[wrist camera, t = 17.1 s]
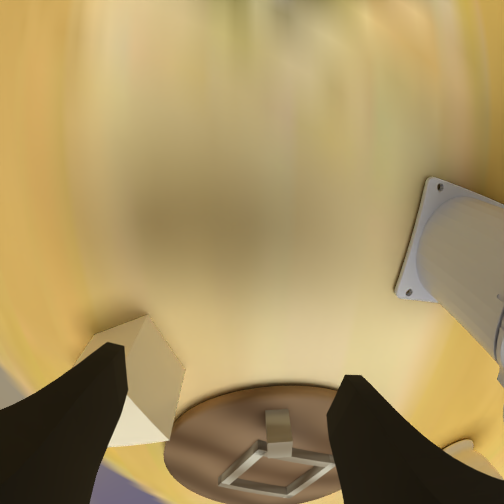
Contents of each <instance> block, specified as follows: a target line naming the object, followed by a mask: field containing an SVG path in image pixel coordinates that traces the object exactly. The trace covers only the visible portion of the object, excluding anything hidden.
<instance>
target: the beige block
mask: <svg viewBox="0 0 504 504" xmlns="http://www.w3.org/2000/svg"><path fill="white" fill-rule="evenodd" d="M106 342H110V343H115V344H119V345H123V346H124V347H125V361H126V372H127V382H128V393H127V396H126V400H125V403H124V407H123V410H122V414H121V416H120V419H119V421H118V423H117V426H116V428H115V430H114V433H113V435H112V437H111V440H110V442H109V444H108V447H118V446H129V445H139V444H148V443H155V442H163V441H169V440H170V436H171V431H172V427H173V422H174V418H175V413H176V409H177V404H178V400H179V396H180V391H181V387H182V383H183V379H184V374H185V368H184V367H183V365H182V364H181V363H180V361H179V360H178V358H177V357H176V355H175V354H174V352H173V351H172V350H171V348H170V347H169V345H168V344H167V342H166V341H165V339H164V338H163V336H162V335H161V333H160V332H159V330H158V329H157V327H156V326H155V324H154V322H153V321H152V319H151V318H150V316H149V315H148V314H147V315H145V316H142V317H139V318H137V319H134V320H132V321H129V322H126V323H124V324H121V325H118V326H116V327H113V328H110V329H108V330H105V331H102V332H100V333H97V334H94V336H93V337H92V339H91V340H90V342H89V343H88V345H87V346H86V347H85V349H84V350H83V352H82V353H81V355H80V356H79V358H78V359H77V361H76V362H75V364H74V366H76V365H77V364H78V363H80V362H81V361H82V360H84V359H85V358H86V357H88V356H89V355H90V354H91V353H93V352H94V351H95V350H97V349H98V348H99V347H101V346H102V345H103V344H105V343H106ZM74 366H73V367H74ZM73 367H72V368H73Z"/></svg>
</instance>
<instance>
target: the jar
mask: <svg viewBox="0 0 504 504" xmlns="http://www.w3.org/2000/svg"><path fill="white" fill-rule="evenodd" d="M443 451H444V452H446V453H447V454H449V455H451V456H452V457H454V458H455V459H457V460H459V461H461V462H462V463H464V464H466V465H468V466H470V467H472V468H474V469H476V470H478V471H480V472H482V473H485V474H487V475H489V476H492V477H495V478H498V479H501V480H503V478H502V476H501V475H500V474H499V472H498V471H497V470H496V469H495V468H494V467H493V466H492V465H491V464H490V462H489V461H488V460H487V459H486V458H485V457H484V456H483V455H482V454H480V453H478V452H477V451H473V441H472V440H469V439H465V440H461V441H458V442H456V443H454V444H451V445H450V446H448V447H446V448H444V449H443Z"/></svg>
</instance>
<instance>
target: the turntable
mask: <svg viewBox="0 0 504 504" xmlns="http://www.w3.org/2000/svg"><path fill="white" fill-rule="evenodd" d="M336 393H337V391H335V390H331V389H327V388H320V387H312V386H294V385H292V386H270V387H260V388H253V389H247V390H241V391H237V392H233V393H229V394H225V395H221V396H219V397H216V398H213V399H210V400H207V401H205V402H203V403H201V404H199V405H197V406H195V407H193V408H192V409H190V410H188V411H187V412H185V413H184V414H183V415H182V416H180V417H179V418H178V419H177V420H176V421H175V423H174V424H173V427H172V431H171V436H170V440H169V441H166V444H165V449H164V462H165V465H166V467H167V469H168V471H169V472H170V474H171V475H172V476H173V477H174V478H175V479H176V480H177V481H178V482H179V483H180V484H182V485H183V486H184V487H186V488H187V489H189V490H191V491H193V492H194V493H196V494H198V495H201V496H203V497H206V498H208V499H211V500H215V501H218V502H222V503H226V504H299V503H304V502H308V501H312V500H315V499H319V498H321V497H324V496H327V495H330V494H332V493H334V492H336V491H339V490H341V485H340V481H339V477H338V473H337V470H336V466H335V462H334V458H333V454H332V450H331V446H330V442H329V436H328V428H327V417H326V414H327V412H328V410H329V408H330V406H331V404H332V402H333V400H334V398H335V396H336Z"/></svg>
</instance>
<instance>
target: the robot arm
mask: <svg viewBox="0 0 504 504" xmlns="http://www.w3.org/2000/svg"><path fill="white" fill-rule="evenodd" d="M439 183H440V189H439V190H438V189H437V186H438V184H439ZM409 289H410V291H409V292H408V293H407V294H406V292H407V290H409ZM394 292H395V295H396V296H397V297H398V298H400V299H409V300H417V301H426V302H435V303H440V304H441V305H442V306H443V307H444V308H445V309H446V310H447V311H448V312H449V313H450V314H451V315H452V316H453V317H454V318H455V319H456V320H457V321H458V322H459V323H460V324H461V325H462V326H463V327H464V328H465V329H466V330H467V331H468V332H469V333H470V334H471V335H472V336H473V337H474V338H475V339H476V341H477V342H478V343H479V344H480V345H481V346H482V347H483V348H484V349H485V350H486V351H487V352H488V353H489V354H490V356H491V357H492V358H493V359H494V360H495V361H496V362H497V363H498V364H499V367H500V371H499V375H498V378H497V380H498V381H499V383H500V384H501V385H502V386H503V387H504V205H503V204H501V203H499V202H497V201H494V200H492V199H490V198H488V197H485V196H483V195H480V194H478V193H476V192H473V191H471V190H468V189H466V188H463V187H460V186H458V185H455V184H453V183H450V182H447V181H444V180H442V179H439V178H436V177H428V179H427V180H426V182H425V186H424V191H423V195H422V199H421V203H420V207H419V211H418V215H417V219H416V223H415V226H414V230H413V233H412V237H411V240H410V244H409V247H408V250H407V254H406V257H405V260H404V263H403V266H402V269H401V272H400V275H399V278H398V281H397V284H396V287H395V291H394ZM127 393H128V382H127V372H126V361H125V347H124V346H123V345H119V344H115V343H110V342H106V343H105V344H103V345H102V346H101V347H99V348H98V349H97V350H95V351H94V352H93V353H91V354H90V355H89V356H88V357H86V358H85V359H84V360H82V361H81V362H80V363H78V364H77V365H76V366H74V367H73V368H72V369H70V370H69V371H67V372H66V373H65V374H63V375H62V376H61V377H59V378H58V379H56V380H55V381H53V382H52V383H50V384H48V385H47V386H45V387H44V388H42V389H41V390H39V391H38V392H36V393H34V394H32V395H31V396H29V397H27V398H25V399H23V400H21V401H19V402H17V403H15V404H13V405H11V406H9V407H6V408H4V409H2V410H0V504H89V503H90V498H91V494H92V490H93V486H94V482H95V478H96V475H97V472H98V469H99V466H100V463H101V461H102V459H103V456H104V454H105V451H106V449H107V447H108V444H109V442H110V440H111V437H112V435H113V433H114V430H115V428H116V426H117V423H118V421H119V419H120V416H121V414H122V410H123V407H124V403H125V400H126V396H127ZM326 417H327V428H328V436H329V442H330V446H331V450H332V454H333V458H334V462H335V466H336V470H337V473H338V477H339V481H340V485H341V489H342V494H343V499H344V504H504V480H501V479H498V478H495V477H492V476H489V475H487V474H485V473H482V472H480V471H478V470H476V469H474V468H472V467H470V466H468V465H466V464H464V463H462V462H461V461H459V460H457V459H455V458H454V457H452V456H451V455H449V454H447V453H446V452H444V451H443V450H442V449H440V448H439V447H438V446H436V445H435V444H433V443H432V442H431V441H429V440H428V439H427V438H426V437H424V436H423V435H422V434H421V433H420V432H419V431H417V430H416V429H415V428H414V427H413V426H412V425H411V424H410V423H409V422H407V421H406V420H405V419H404V418H403V417H402V416H401V415H400V414H399V413H398V412H397V411H396V410H395V409H394V408H393V407H392V406H391V405H390V404H389V403H388V402H387V401H386V400H385V399H384V398H383V397H382V396H381V395H380V394H379V393H378V391H377V390H376V389H375V388H374V387H373V386H372V385H371V384H370V383H369V382H368V381H367V380H366V379H365V378H364V377H362V376H361V375H345V376H344V378H343V381H342V383H341V385H340V387H339V389H338V391H337V393H336V396H335V398H334V400H333V402H332V404H331V406H330V408H329V410H328V412H327V414H326ZM503 420H504V406H503Z"/></svg>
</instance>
